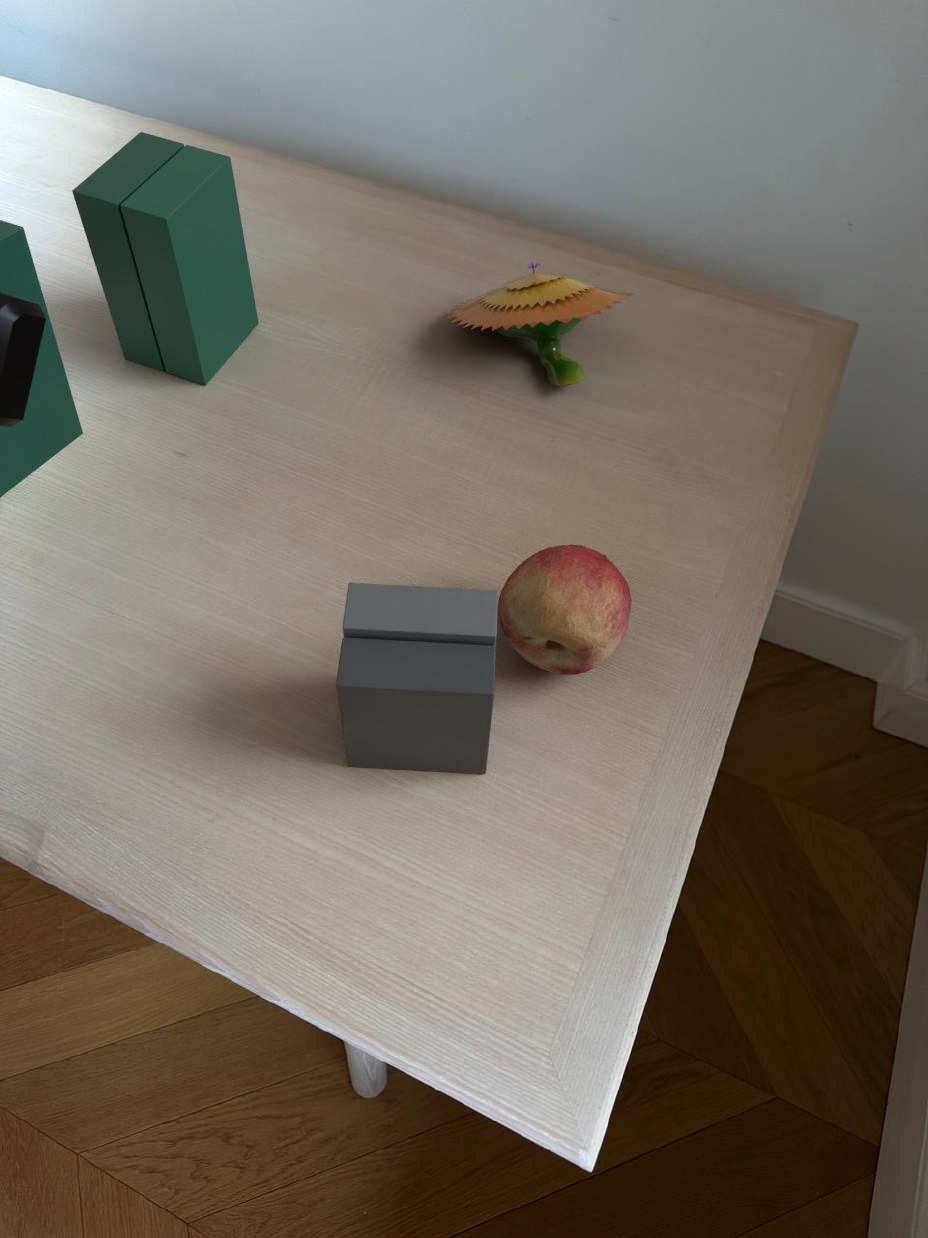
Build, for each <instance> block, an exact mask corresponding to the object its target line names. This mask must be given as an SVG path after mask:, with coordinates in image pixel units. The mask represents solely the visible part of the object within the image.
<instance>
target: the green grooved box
mask: <svg viewBox="0 0 928 1238" xmlns="http://www.w3.org/2000/svg"><path fill="white" fill-rule="evenodd" d="M234 175H235V174H234V170H233V162H232V158H231V156H229V155H225V154H223V153H222V154H221V153H219V152H216V151H215V152H214V151H211V150H207V149H204V148H200V147H197V146H193V145H189V144H184V143H182V142H180V141H176V140H172V139H169V138H168V139H167V138H166V137H165V138H164V137H161V136H158V135H155V134H151V133H146V132H144V131H140V132H139V133H137V135H135V136H134V137H133V138H132V139H130V140H129V141H128V142H127V143H126V144H124V145H123V146H122V147H121V148H120V149H119V150H118V151H116V152H115V153H113V155H112V156H111V157H110V158H108V159H107V160H105V162H104V163H102V164H101V165H100V166H99V167H98V168H97V169H95V170H94V171H93V172H92V173H91V174H90V175H88V177H86V178H85V179H83V181H81V182H80V183H79V184H78V185H77V186H76V187H74V189H72V190H71V192H72V195H73V198H74V202H75V205H76V209H77V212H78V215H79V218H80V220H81V224H82V227H83V231H84V235H85V237H86V241H87V243H88V247H89V250H90V252H91V256H92V259H93V262H94V266H95V269H96V271H97V276H98V278H99V282H100V285H101V288H102V291H103V294H104V297H105V300H106V304H107V307H108V310H109V313H110V316H111V320H112V322H113V327H114V329H115V332H116V335H117V339H118V342H119V345H120V348H121V351H122V355H123V357H124V359H125V360H128V361H130V362H134V363H136V364H139V365H143V366H146V367H148V368H152V369H155V370H157V371H160V372H166V374H170V375H173V376H175V377H179V378H182V379H185V380H187V381H191V382H194V383H197V384H200V385H203V386H207V385H208V383H209V382H210V381H211V380H212V379H213V377H214V376H215V375H216V374H217V373H218V372H219V371H220V369H221V368H222V367H223V366H224V365H225V364H226V362H227V361H228V360H229V359H230V358H231V356H232V355H233V354H234V353H235V352H236V351H237V350H238V348H239V347H240V346H241V345H242V344H243V342H244V341H245V340H246V339H247V338H248V336H250V334H251V333H252V332H253V331H254V330H255V328H257V326H258V325H259V318H258V311H257V305H256V299H255V293H254V289H253V282H252V276H251V275H252V274H251V270H250V269H251V268H250V265H249V259H248V252H247V247H246V240H245V235H244V229H243V224H242V217H241V211H240V205H239V199H238V194H237V186H236V181H235V176H234Z"/></svg>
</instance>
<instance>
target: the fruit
mask: <svg viewBox="0 0 928 1238" xmlns="http://www.w3.org/2000/svg"><path fill="white" fill-rule="evenodd" d="M631 608H632V594H631V589H630V585H629V583H628V581H627V580H626V578H625V577H624V575H623V574H622V573H621V572H620V570H619V568H618V567H617V566H616V565H615V564H614V563H613V561H611V560H610V559H609V558H608V557H607V555H605V554H603V553H601V552H600V551H597V550H595V549H592V548H590V547H587V546H585V545H581V544H580V545H579V544H573V543H572V544H558V545H555V546H549V547H545V548H543V549H540V550H538V551H537V552H535V553H533V554H531V555H530V556H529V557H527V558H526V559H524V560H523V561H522V562H521V563H520V564H519V565H518V566H517V567H516V568H515V569H514V570H513V571H512V573H510V574H509V576H508V577H507V579H506V581H505V582H504V584H503V587H502V588H501V591H500V594H499V596H498V608H497V620H498V622H499V625H500V629H501V631H502V634H503V636H504V638H505V640H506V641H507V642H508V644H509V645H510V646H511V647H512V649H514V650H515V652H517V654H519V655H520V656H521V657H522V658H523V659H524V660H525V661H526V662H527V663H529V664H530V665H533V666H535V667H536V668H539V669H541V670H545V671H547V672H549V673H551V674H555V675H563V676H575V675H581V674H583V673H587V672H590V671H591V670H594V669H595V668H597V667H599V666H600V665H602V664H604V663H605V662H606V661H608V660H609V659H610V658H612V656H613V655H614V654H615V653H616V651H617V650H618V649H619V647H620V645H621V644H622V642H623V641H624V639H625V638H626V635H627V632H628V628H629V621H630V614H631Z"/></svg>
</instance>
